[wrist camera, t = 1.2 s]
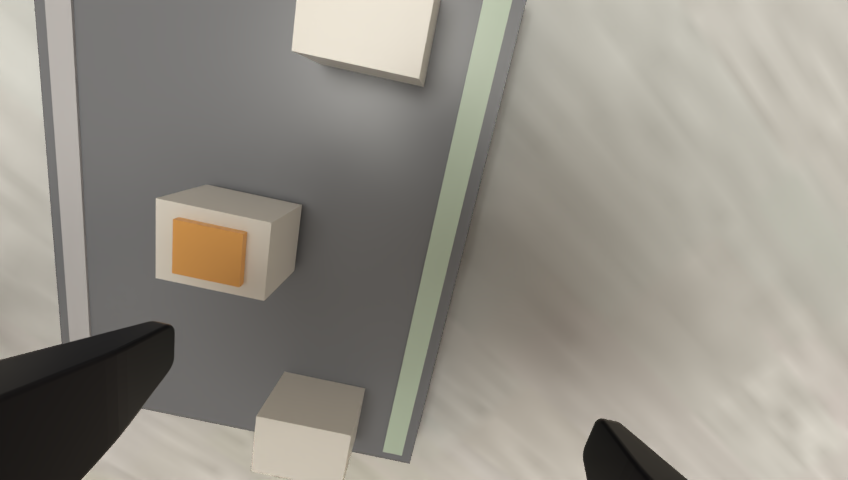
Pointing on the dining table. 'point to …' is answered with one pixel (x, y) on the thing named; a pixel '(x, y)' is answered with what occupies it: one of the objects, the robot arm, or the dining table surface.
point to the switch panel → (277, 197)
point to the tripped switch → (226, 240)
